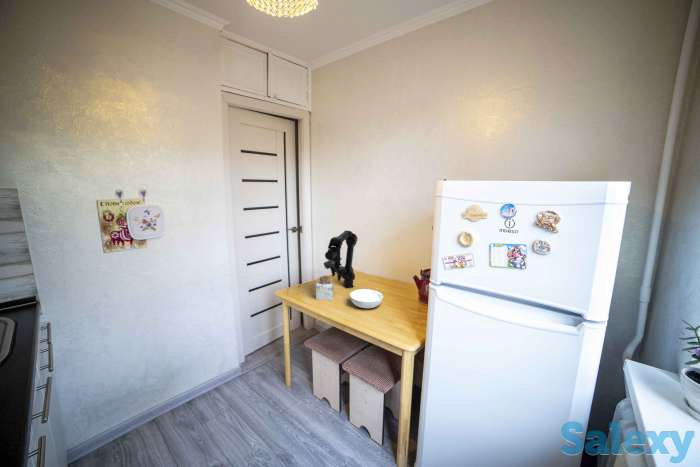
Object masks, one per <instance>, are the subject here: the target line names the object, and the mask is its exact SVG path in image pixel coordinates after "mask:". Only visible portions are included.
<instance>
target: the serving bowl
mask: <svg viewBox="0 0 700 467" xmlns="http://www.w3.org/2000/svg"><path fill="white" fill-rule="evenodd" d="M349 297H350V298H349V299H350V301H351V302H352V303H353V304H354V305H355V306H356V307H358V308H362V309H372V308H376V307H378V306H379V305H380V304H382V301H383V298H384V296H383V294H382V293H381V292H379V291H377V290H374V289H368V288H362V289H361V288H360V289H356V290H353V291H351V292H350V293H349Z"/></svg>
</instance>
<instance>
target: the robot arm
mask: <svg viewBox="0 0 700 467" xmlns="http://www.w3.org/2000/svg"><path fill="white" fill-rule="evenodd" d="M344 241H345V244H346V247H347V248H346V249H347V250H346V256H345V265H342V263H341V261H342V258H341V249H342V245H343V244H344V243H343V242H344ZM357 242H358V236H357V234H355V233H353V232H352V230H344V231H343V232H342V233H341V234H339V235H338V236H333V237H331V238H330V240H329V243H328V246H327V251H326V252H325V253H324V257H325V259H326V260H327V261H325V262H323V263H322V264H323V266H324V268H325V269H327V270H330V273H331V276H332V277H335V276H336V275H337V281H338V282H340V281H341V279H343V284H342V285H343V287H344V288H345V289H351V288H355V286H354V280H355V279H356V275H355V273H354V268H353V259H354V248H355V246H356V245H357Z"/></svg>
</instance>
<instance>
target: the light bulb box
mask: <svg viewBox="0 0 700 467" xmlns="http://www.w3.org/2000/svg"><path fill="white" fill-rule="evenodd" d="M333 297H334V282H333V281H330V284H325V285H322V284H321V283H320V280H319V281H317V283H316V284H315V300H318V301H319V300H320V301H332V300H333Z"/></svg>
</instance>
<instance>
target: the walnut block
mask: <svg viewBox="0 0 700 467" xmlns="http://www.w3.org/2000/svg"><path fill="white" fill-rule="evenodd" d="M330 280H331V278H330V277H329V276H328V275H323V276H320V277H319V282H320V283H321V284H322V285H325V284H330V282H331V281H330Z"/></svg>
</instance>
